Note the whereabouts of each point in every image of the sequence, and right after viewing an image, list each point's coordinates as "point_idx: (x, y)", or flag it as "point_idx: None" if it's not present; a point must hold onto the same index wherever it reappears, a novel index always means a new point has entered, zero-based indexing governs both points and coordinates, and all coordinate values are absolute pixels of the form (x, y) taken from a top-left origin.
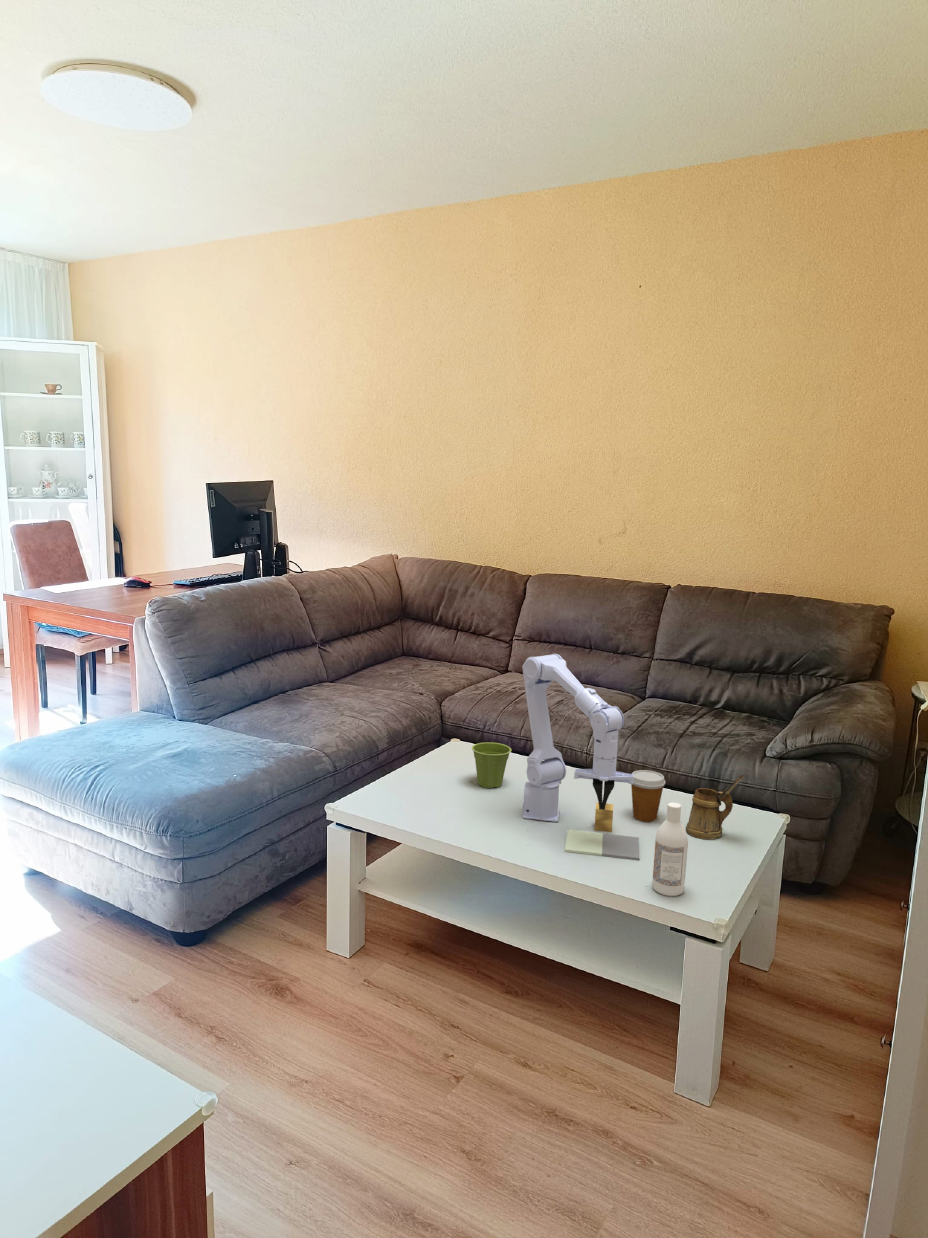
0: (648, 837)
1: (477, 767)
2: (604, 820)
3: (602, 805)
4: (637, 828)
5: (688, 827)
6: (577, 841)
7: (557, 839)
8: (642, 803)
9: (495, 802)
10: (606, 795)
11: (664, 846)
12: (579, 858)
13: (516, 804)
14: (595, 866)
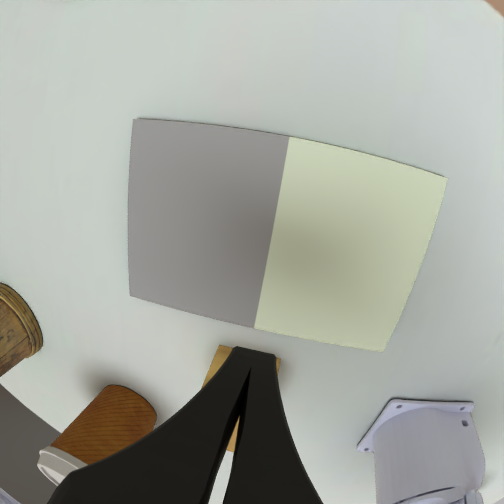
0: (107, 305)
1: None
2: None
3: (247, 369)
4: (140, 360)
5: (26, 328)
6: (378, 256)
7: (438, 287)
8: (110, 428)
9: None
10: (186, 434)
11: None
12: (393, 113)
13: None
14: (330, 40)
